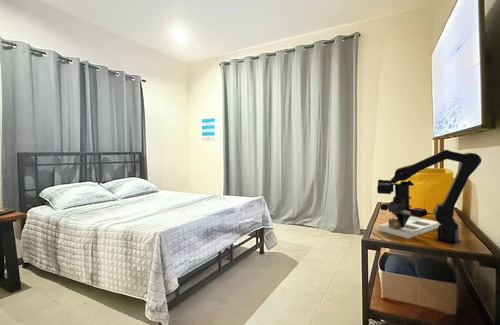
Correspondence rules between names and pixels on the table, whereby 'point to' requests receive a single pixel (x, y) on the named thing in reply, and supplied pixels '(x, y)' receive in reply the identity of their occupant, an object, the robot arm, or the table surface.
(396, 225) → the walnut block
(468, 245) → the table surface
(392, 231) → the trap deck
